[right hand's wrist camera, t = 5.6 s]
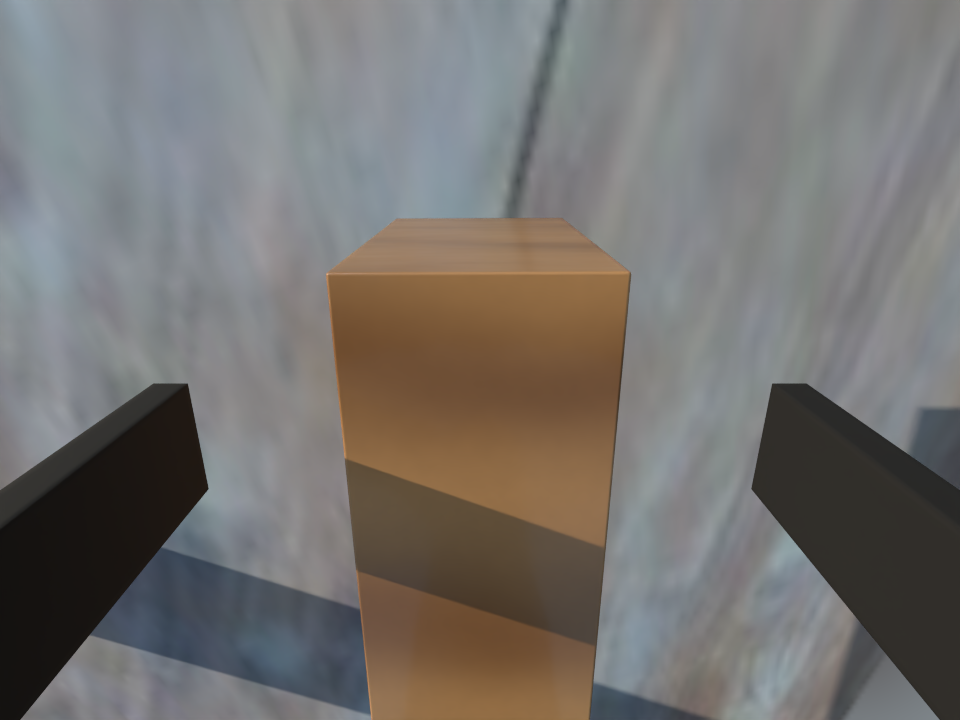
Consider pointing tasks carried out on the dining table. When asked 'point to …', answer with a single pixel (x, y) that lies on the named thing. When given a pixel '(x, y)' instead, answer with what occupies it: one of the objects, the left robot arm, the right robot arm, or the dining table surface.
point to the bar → (479, 460)
